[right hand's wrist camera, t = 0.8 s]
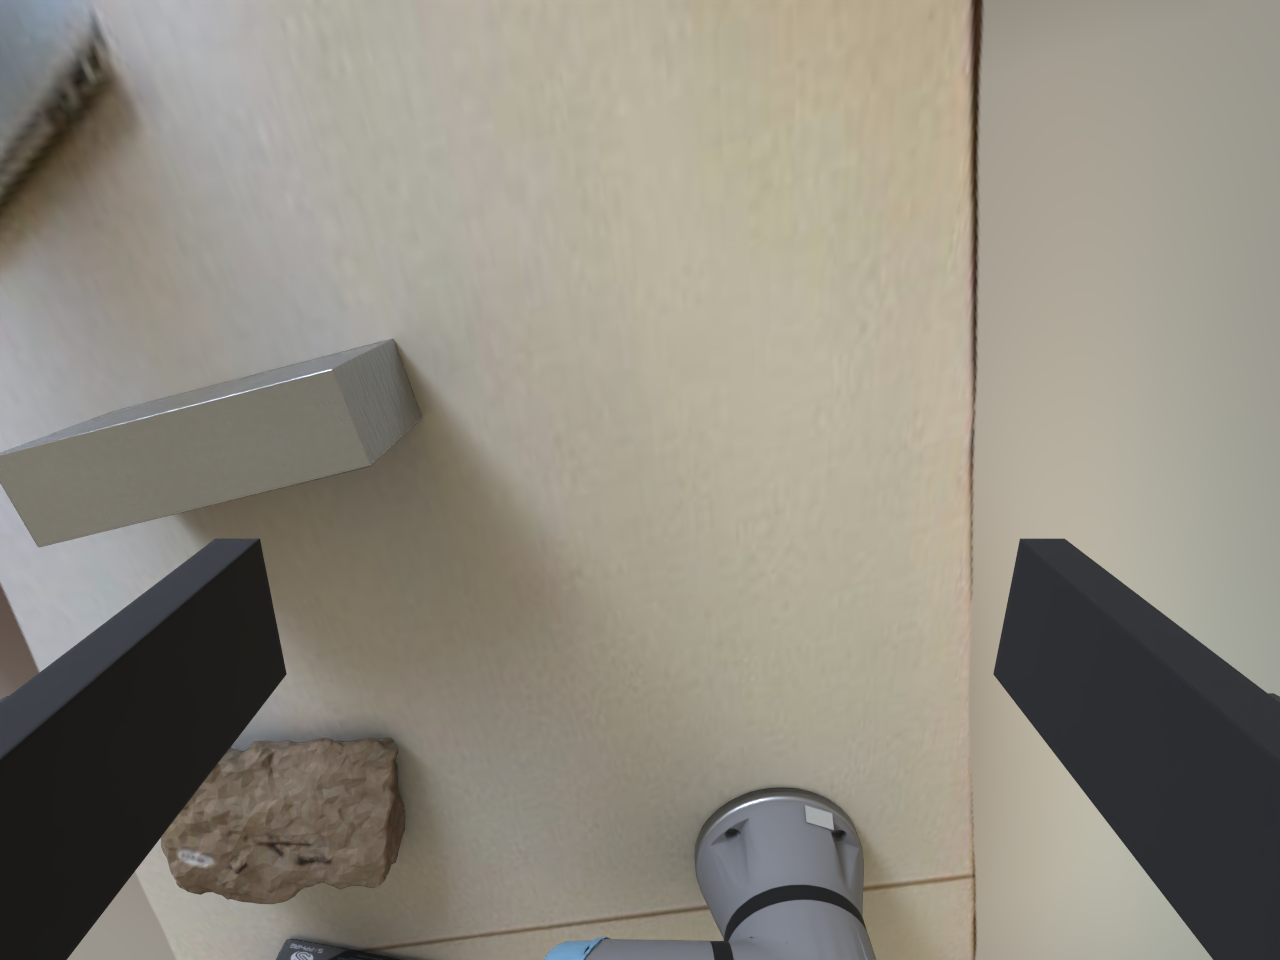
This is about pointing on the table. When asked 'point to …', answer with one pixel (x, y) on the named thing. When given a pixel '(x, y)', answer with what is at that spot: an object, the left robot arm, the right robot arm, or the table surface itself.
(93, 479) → the box
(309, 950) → the graphics card box
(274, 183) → the table surface
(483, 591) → the table surface
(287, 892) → the stone
